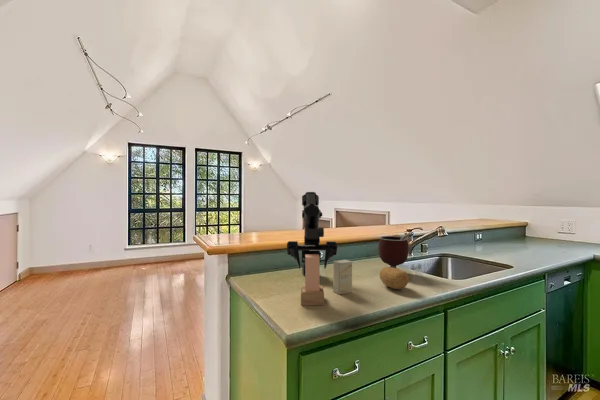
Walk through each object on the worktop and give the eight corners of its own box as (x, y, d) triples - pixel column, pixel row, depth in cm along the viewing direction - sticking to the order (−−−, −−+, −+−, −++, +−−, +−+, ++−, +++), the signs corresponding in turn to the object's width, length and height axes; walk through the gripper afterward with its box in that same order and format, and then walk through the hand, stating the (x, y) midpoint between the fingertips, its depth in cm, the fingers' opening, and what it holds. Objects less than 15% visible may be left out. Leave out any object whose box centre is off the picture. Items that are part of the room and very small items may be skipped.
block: (305, 286, 105) (305, 254, 104) (318, 286, 105) (318, 254, 104) (305, 291, 100) (305, 257, 99) (319, 291, 100) (319, 257, 99)
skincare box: (339, 294, 108) (339, 263, 108) (332, 291, 112) (332, 260, 112) (352, 292, 111) (352, 261, 111) (345, 288, 115) (345, 259, 115)
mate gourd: (378, 276, 133) (379, 233, 133) (377, 268, 147) (378, 229, 146) (414, 278, 129) (414, 234, 129) (409, 270, 143) (410, 230, 142)
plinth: (301, 296, 106) (301, 285, 106) (322, 296, 106) (322, 285, 106) (300, 305, 98) (300, 292, 98) (324, 305, 98) (324, 292, 98)
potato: (391, 281, 125) (391, 263, 125) (415, 291, 112) (415, 271, 112) (373, 284, 121) (373, 265, 121) (395, 295, 108) (395, 274, 108)
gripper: (287, 220, 107) (285, 255, 96) (336, 220, 106) (340, 256, 96) (288, 237, 115) (286, 272, 104) (334, 237, 115) (337, 272, 104)
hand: (312, 268), depth 102 cm, fingers open, 9 cm apart
